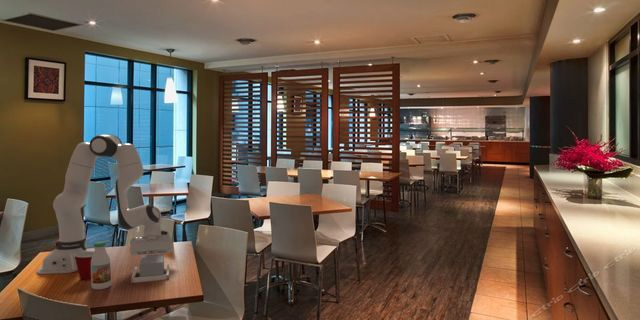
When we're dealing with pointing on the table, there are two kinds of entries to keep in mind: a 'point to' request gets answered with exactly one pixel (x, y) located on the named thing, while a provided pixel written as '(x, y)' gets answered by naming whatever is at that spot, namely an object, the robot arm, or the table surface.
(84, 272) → the plastic cup
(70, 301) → the table surface
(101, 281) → the milk bottle
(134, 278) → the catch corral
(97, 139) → the robot arm
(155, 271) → the slate block
